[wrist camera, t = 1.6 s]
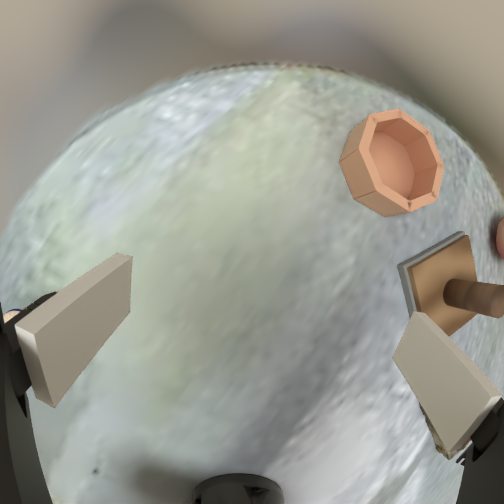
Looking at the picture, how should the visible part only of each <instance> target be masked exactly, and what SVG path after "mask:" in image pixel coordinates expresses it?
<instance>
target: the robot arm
mask: <svg viewBox="0 0 504 504" xmlns="http://www.w3.org/2000/svg"><path fill="white" fill-rule="evenodd" d="M132 258H133V257H132V256H128V255H124V254H120V253H116V254H115V255H113V256H112V257H110V258H109V259H107V260H105V261H104V262H102V263H101V264H99V265H98V266H96V267H95V268H93V269H92V270H90V271H89V272H87V273H86V274H84V275H83V276H81V277H80V278H78V279H77V280H75V281H74V282H72V283H71V284H69V285H68V286H67V287H65V288H64V289H62V290H61V291H59V292H58V293H57V292H53V293H50V294H47V295H44V296H42V297H41V298H39V299H38V300H36V301H35V302H34V304H33V303H32V304H31V305H29V306H28V307H27V309H26V308H25V309H24V310H22V311H21V312H19V313H18V314H17V315H15V316H14V317H13V318H11V319H10V320H9V321H7V322H6V323H5V322H4V318H3V313H2V308H1V303H0V504H53V503H52V500H51V497H50V494H49V491H48V488H47V485H46V482H45V479H44V475H43V472H42V468H41V464H40V461H39V457H38V452H37V448H36V444H35V439H34V434H33V428H32V422H31V416H30V409H29V402H28V397H27V394H26V391H27V390H28V388H29V387H30V386H31V385H32V388H33V391H34V393H35V396H36V398H37V399H39V400H40V401H42V402H44V403H46V404H48V405H50V406H51V407H53V408H55V407H56V406H57V404H58V403H59V402H60V400H61V399H62V398H63V396H64V395H65V394H66V392H67V391H68V390H69V388H70V387H71V386H72V384H73V383H74V382H75V380H76V379H77V378H78V376H79V375H80V374H81V372H82V371H83V370H84V369H85V367H86V366H87V365H88V363H89V362H90V361H91V360H92V358H93V357H94V356H95V355H96V353H97V352H98V351H99V349H100V348H101V347H102V346H103V344H104V343H105V342H106V341H107V340H108V338H109V337H110V336H111V335H112V333H113V332H114V331H115V330H116V329H117V327H118V326H119V325H120V324H121V322H122V321H123V320H124V319H125V318H126V316H127V315H128V314H129V313H130V294H131V273H132ZM392 359H393V360H394V362H395V363H396V365H397V366H398V368H399V370H400V371H401V373H402V374H403V376H404V378H405V379H406V381H407V382H408V384H409V386H410V387H411V389H412V391H413V392H414V394H415V396H416V397H417V399H418V401H419V402H420V404H421V406H422V407H423V409H424V411H425V412H426V414H427V416H428V418H429V419H430V421H431V423H432V425H433V426H434V428H435V430H436V432H437V433H438V435H439V437H440V439H441V441H442V442H443V444H444V446H445V448H446V450H447V452H451V451H454V450H458V449H460V448H461V447H462V446H463V445H464V444H465V443H466V442H467V441H468V439H469V438H471V440H472V444H471V445H470V446H469V447H468V448H467V449H466V450H465V451H464V452H463V454H462V455H461V456H460V457H459V458H458V459H457V461H456V463H458V462H459V461H460V460H461V459H462V458H466V459H465V460H464V461H463V462H462V463H461V465H463V466H464V471H463V476H462V481H461V486H460V490H459V494H458V498H457V502H456V504H504V400H503V399H502V398H501V396H502V394H501V393H500V392H499V391H498V389H497V388H496V387H495V386H494V385H493V384H492V382H491V381H490V380H489V379H488V378H487V377H486V376H485V375H484V373H483V372H482V371H481V370H480V369H479V368H478V367H477V366H476V365H475V364H474V363H473V361H472V360H471V359H470V358H469V357H468V356H467V355H466V354H465V353H464V352H463V351H462V350H461V349H460V348H459V347H458V346H457V345H456V344H455V343H454V341H453V340H452V339H451V338H450V337H449V336H448V335H447V334H446V333H445V332H444V331H443V330H442V329H441V328H440V327H439V326H438V325H437V324H436V323H435V322H434V321H433V320H432V319H431V318H429V317H428V316H427V315H426V314H425V313H422V312H416V311H413V314H412V316H411V318H410V321H409V323H408V325H407V327H406V330H405V332H404V334H403V336H402V338H401V341H400V343H399V345H398V347H397V349H396V351H395V353H394V355H393V357H392ZM192 504H284V498H283V495H282V491H281V489H280V487H279V486H278V485H277V484H276V483H274V482H273V481H271V480H269V479H266V478H263V477H260V476H255V475H249V474H229V475H222V476H217V477H214V478H211V479H208V480H206V481H204V482H202V483H201V484H199V485H198V486H197V487H196V488H195V490H194V492H193V497H192Z"/></svg>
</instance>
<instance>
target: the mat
mask: <svg viewBox="0 0 504 504" xmlns="http://www.w3.org/2000/svg"><path fill="white" fill-rule="evenodd" d="M463 235H465V233H464V231H462V232H457V233H455V234H453V235H452V236H450V237H448V238H446V239H445V240H443V241H441V242H439V243H438V244H436V245H434V246H432V247H431V248H429V249H427V250H425V251H423V252H421V253H420V254H418V255H416V256H414V257H412V258H410V259H408V260H407V261H405V262H403V263H401V264H399V265H397V267H398V271H399V274H400V278H401V282H402V286H403V290H404V294H405V298H406V302H407V307H408V311H409V316H410V318H411V316H412V314H413V311H416V312H417V310H416V305H415V300H414V296H413V291H412V287H411V283H410V279H409V275H408V271H407V268H408V267H410V266H411V265H413V264H415V263H417V262H419V261H421V260H422V259H424V258H426V257H428V256H429V255H431V254H433V253H435V252H436V251H438V250H440V249H441V248H443V247H445V246H447V245H448V244H450V243H452V242H453V241H455V240H457V239H458V238H460V237H461V236H463Z"/></svg>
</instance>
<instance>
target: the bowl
mask: <svg viewBox="0 0 504 504" xmlns="http://www.w3.org/2000/svg"><path fill="white" fill-rule="evenodd" d="M339 164H340V166H341V169H342V171H343V173H344V176H345V178H346V181H347V183H348V186H349V188H350V191H351V193H352V196H353V199H354V198H355V199H354V200H356V201H358V202H360V203H361V204H363V205H365V206H367V207H368V208H370V209H372V210H374V211H375V212H377V213H379V214H381V215H382V216H384V217H387V216H392V215H397V214H402V213H407V212H411V211H414V210H416V209H418V208H420V207H423V206H425V205H427V204H429V203H432V202H434V201H436V200H437V199H438V195H439V190H440V185H441V181H442V176H443V170H444V165H443V162H442V160H441V157H440V154H439V152H438V150H437V147H436V145H435V142H434V140H433V138H432V136H431V133H430V131H429V130H428V129H427V128H425V127H424V126H423V125H421V124H420V123H419V122H417V121H416V120H415V119H413V118H412V117H410V116H409V115H408V114H406V113H405V112H403V111H402V110H400V109H396V110H390V111H384V112H378V113H373V114H369V115H368V116H367V117H366V118H365V119H364V120H363V121H362V122H361V123H360V124H358V125H357V126H356V127H355V128H354V129H353V130H352V131H351V132H350V134H349V136H348V139H347V142H346V145H345V147H344V150H343V153H342V155H341V158H340V161H339Z"/></svg>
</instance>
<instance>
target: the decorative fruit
mask: <svg viewBox="0 0 504 504" xmlns="http://www.w3.org/2000/svg"><path fill="white" fill-rule="evenodd" d="M496 245H497V249H498V252H499V254H500V255H501V257H502V258H503V259H504V217H503V218H502V220H501V221H500V223H499V225H498V228H497V235H496Z"/></svg>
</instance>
